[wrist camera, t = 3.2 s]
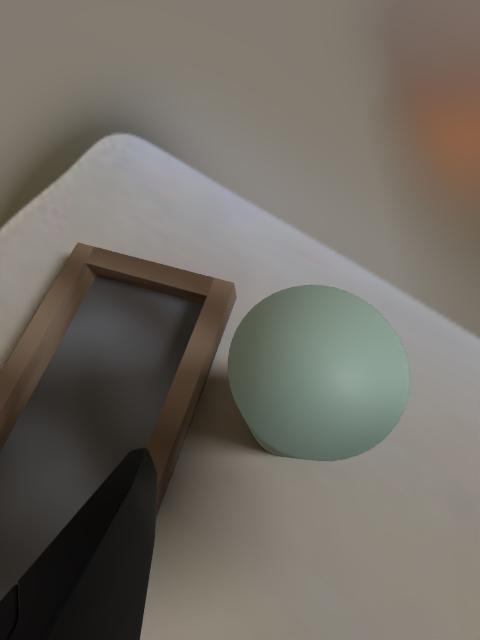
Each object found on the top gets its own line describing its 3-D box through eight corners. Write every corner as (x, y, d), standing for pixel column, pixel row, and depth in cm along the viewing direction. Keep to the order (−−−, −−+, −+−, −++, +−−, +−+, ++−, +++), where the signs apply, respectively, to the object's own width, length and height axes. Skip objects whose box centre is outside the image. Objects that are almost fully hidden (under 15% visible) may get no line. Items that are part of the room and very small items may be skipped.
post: (314, 468, 16) (395, 490, 6) (238, 442, 17) (202, 424, 7) (331, 391, 18) (420, 308, 8) (260, 370, 19) (257, 268, 8)
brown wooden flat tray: (84, 712, 14) (59, 748, 12) (-106, 607, 15) (-151, 625, 14) (236, 296, 20) (234, 282, 19) (91, 258, 22) (77, 242, 21)
